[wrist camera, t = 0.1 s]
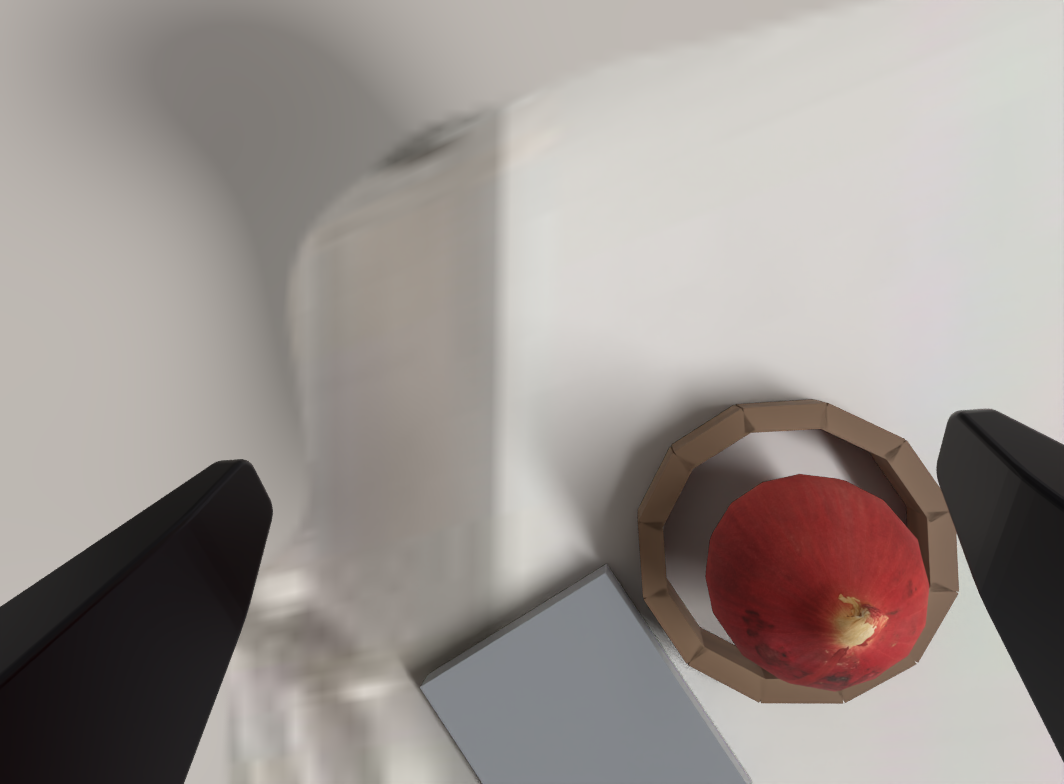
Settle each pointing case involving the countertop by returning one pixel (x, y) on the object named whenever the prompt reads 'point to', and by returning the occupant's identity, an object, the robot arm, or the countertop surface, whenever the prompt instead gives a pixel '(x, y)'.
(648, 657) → the slate tile
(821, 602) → the onion
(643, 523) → the ring
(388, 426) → the countertop surface
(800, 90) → the countertop surface
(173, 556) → the robot arm
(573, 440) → the countertop surface
